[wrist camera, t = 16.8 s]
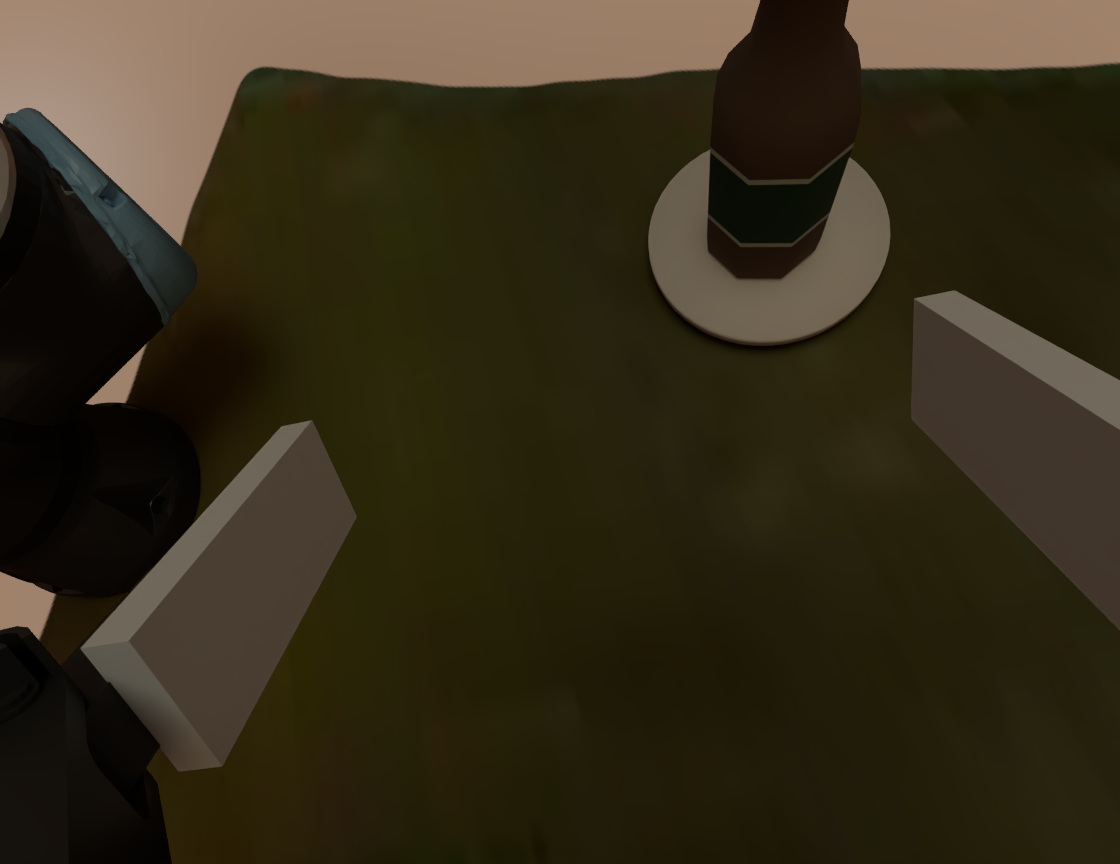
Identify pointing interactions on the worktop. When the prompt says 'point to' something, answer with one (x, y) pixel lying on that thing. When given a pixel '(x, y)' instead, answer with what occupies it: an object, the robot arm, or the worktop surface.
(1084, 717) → the worktop surface
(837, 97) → the beer bottle
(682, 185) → the dish
